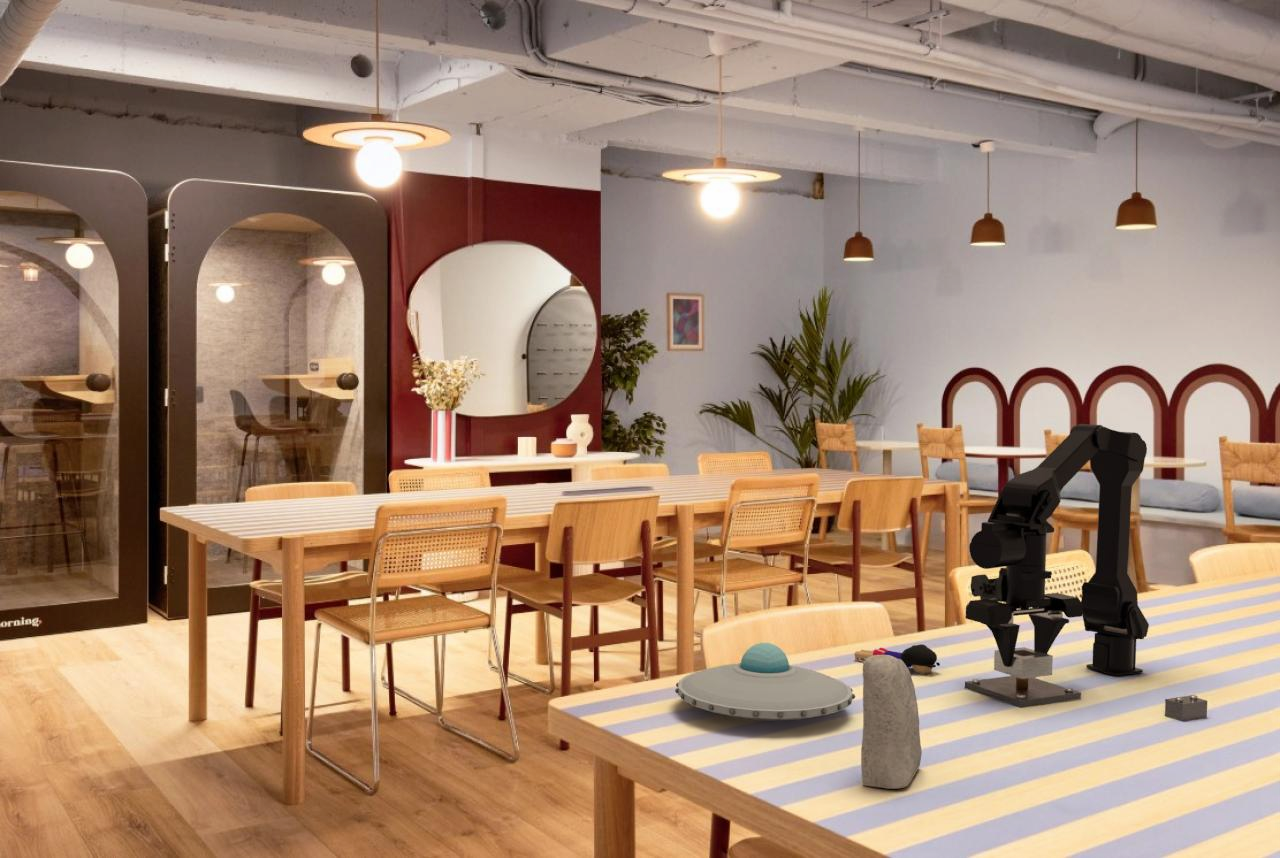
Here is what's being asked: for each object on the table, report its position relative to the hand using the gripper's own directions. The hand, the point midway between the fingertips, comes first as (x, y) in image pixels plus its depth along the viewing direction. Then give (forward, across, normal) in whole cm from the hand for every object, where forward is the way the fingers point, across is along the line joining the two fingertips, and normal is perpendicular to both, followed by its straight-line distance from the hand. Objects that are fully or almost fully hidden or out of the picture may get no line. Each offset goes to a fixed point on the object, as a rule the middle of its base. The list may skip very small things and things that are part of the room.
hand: (1022, 664), depth 186 cm
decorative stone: (+5, +43, +23) cm, 49 cm away
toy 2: (+5, +8, -21) cm, 23 cm away
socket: (+1, 0, 0) cm, 1 cm away
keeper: (+4, 0, 0) cm, 5 cm away
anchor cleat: (+4, -13, +19) cm, 23 cm away
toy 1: (+5, +42, -7) cm, 43 cm away
